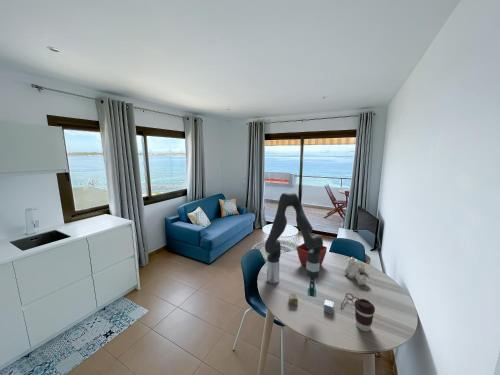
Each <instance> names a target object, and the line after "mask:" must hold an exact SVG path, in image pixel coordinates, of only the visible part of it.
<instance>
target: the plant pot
mask: <svg viewBox="0 0 500 375" xmlns="http://www.w3.org/2000/svg"><path fill="white" fill-rule="evenodd" d="M309 250H311V249H309V248H307V247H306V246H305V243H304V242H303V243H302V244H300V245H298V246H296V251H297V256H298V259H299V262H300V264H301V266H302V267H305V268H306V263H307V252H308V251H309ZM327 250H328V247H327V246H326V245H323V246H322V250H321V253H320V257H319V264H320V267H321V266H322V265H323V262H324V260H325V258H326V257H325V256H326V254H327Z"/></svg>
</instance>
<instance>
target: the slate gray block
mask: <svg viewBox="0 0 500 375" xmlns="http://www.w3.org/2000/svg"><path fill="white" fill-rule="evenodd" d="M334 304H335V302H334V301H331V300H328V299H325V300H324V303H323V313H328V314H330V315H333V313H334V308H335V306H334Z"/></svg>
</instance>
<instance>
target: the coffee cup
mask: <svg viewBox="0 0 500 375" xmlns="http://www.w3.org/2000/svg"><path fill="white" fill-rule="evenodd" d="M375 312H376V307H375V305H374V304H373V303H372V302H370V301H369V300H368V299H365V298H359V299H356V300H355V301H354V313H355V314H354V315H355V325H356V327H357V328H358V329H359V330H360V331H363V332H369V331H370V330H371V329H372V328H371V327H372V324H373V318H374V314H375Z"/></svg>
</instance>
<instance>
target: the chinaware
mask: <svg viewBox="0 0 500 375" xmlns="http://www.w3.org/2000/svg"><path fill="white" fill-rule="evenodd" d="M347 260H348V262H347V263H348V264H347V267H346V268H345V269H344V271H343V272H344V273H345V275H346V277H347V278H349V279H356V281H357V285H358V286H359V285H360V286H364V285H366V284H367V282H368V281H369V278H368V277H367V276H366V275H365V274H361V273H363V272H365V271H366V269H368V267H367V265H366V264H362V263H361V262H358V259H356V258H355V257H354V256H351V257H349V258H348V259H347ZM357 262H358V263H357Z"/></svg>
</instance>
